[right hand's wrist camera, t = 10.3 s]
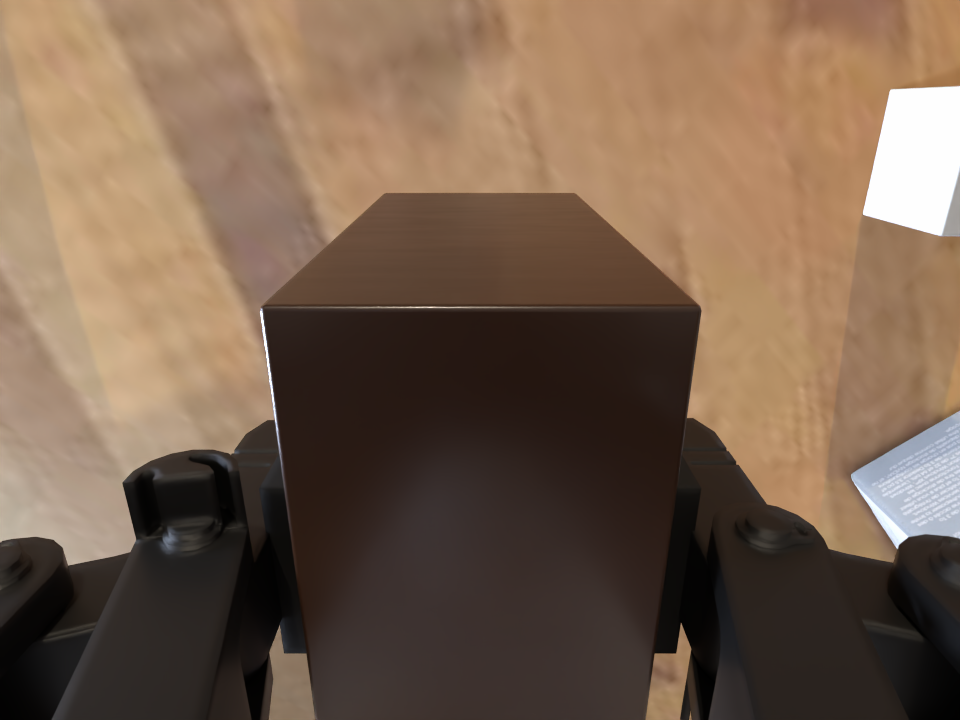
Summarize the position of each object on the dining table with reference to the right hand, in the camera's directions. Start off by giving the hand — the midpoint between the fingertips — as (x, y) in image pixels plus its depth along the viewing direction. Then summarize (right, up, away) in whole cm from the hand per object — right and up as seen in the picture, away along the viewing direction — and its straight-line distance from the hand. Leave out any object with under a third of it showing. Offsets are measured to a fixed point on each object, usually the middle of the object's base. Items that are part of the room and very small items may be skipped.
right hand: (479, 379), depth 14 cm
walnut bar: (0, -8, +4) cm, 9 cm away
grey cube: (+19, +9, +12) cm, 24 cm away
